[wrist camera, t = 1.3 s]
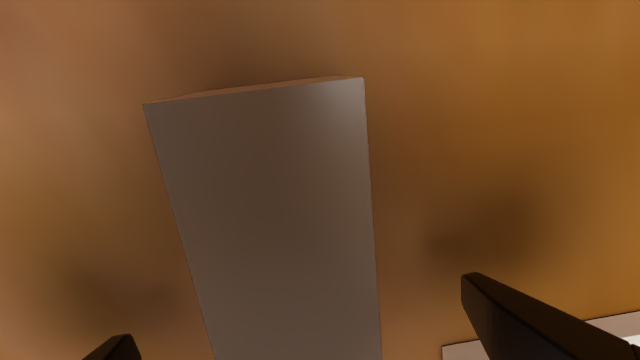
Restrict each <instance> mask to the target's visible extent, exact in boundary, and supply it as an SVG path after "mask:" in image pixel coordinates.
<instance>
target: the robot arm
mask: <svg viewBox="0 0 640 360" xmlns="http://www.w3.org/2000/svg"><path fill="white" fill-rule="evenodd" d="M461 301H462V305H463V308H464V310H465V312H466V314H467V316H468V318H469V320H470V322H471V324H472V326H473V328H474V330H475V332H476V334H477V336H478V338H479V340H480V342H481V344H482V346H483V348H484V350H485V352H486V354H487V356H488V357H489V359H490V360H640V347H639V346H637V345H635V344H630V343H629V342H628V341H626V340H624V339H622V338H619V337H617V336H615V335H613V334H611V333H609V332H606V331H604V330H602V329H600V328H598V327H596V326H593V325H591V324H589V323H587V322H585V321H583V320H580V319H578V318H576V317H574V316H572V315H570V314H567V313H565V312H563V311H561V310H559V309H557V308H554V307H552V306H550V305H548V304H546V303H544V302H541V301H539V300H537V299H535V298H533V297H531V296H528V295H526V294H524V293H522V292H520V291H518V290H515V289H513V288H511V287H509V286H507V285H505V284H502V283H500V282H498V281H496V280H494V279H492V278H490V277H487V276H485V275H483V274H481V273H478V272H472V273H467V274H463V275H462V277H461ZM82 360H142V358H141V354H140V352H139V350H138V348H137V345H136V343H135V341H134V338H133V336H132V335H131V334H121V335H116V336H113V337H111V338H110V339H108V340H107V341H106V342H104V343H103V344H102V345H101V346H99V347H98V348H97V349H95V350H94V351H93V352H91V353H90V354H89V355H87V356H86V357H85V358H83V359H82Z"/></svg>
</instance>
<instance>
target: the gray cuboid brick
mask: <svg viewBox="0 0 640 360" xmlns="http://www.w3.org/2000/svg"><path fill="white" fill-rule="evenodd" d="M142 106H143V109H144V113H145V116H146V120H147V123H148V127H149V130H150V134H151V137H152V141H153V144H154V148H155V151H156V155H157V158H158V162H159V165H160V169H161V172H162V176H163V179H164V183H165V186H166V190H167V193H168V197H169V200H170V204H171V207H172V211H173V214H174V218H175V221H176V225H177V228H178V232H179V235H180V239H181V242H182V246H183V249H184V253H185V256H186V260H187V263H188V267H189V270H190V274H191V277H192V281H193V284H194V288H195V291H196V295H197V298H198V302H199V305H200V309H201V312H202V316H203V319H204V323H205V326H206V330H207V333H208V337H209V340H210V344H211V347H212V351H213V354H214V357H215V360H382V345H381V330H380V315H379V300H378V285H377V270H376V255H375V240H374V225H373V210H372V195H371V179H370V164H369V149H368V134H367V119H366V104H365V89H364V77H358V76H347V75H332V76H324V77H315V78H307V79H299V80H290V81H282V82H274V83H266V84H257V85H249V86H241V87H233V88H224V89H216V90H208V91H200V92H195V93H191V94H186V95H181V96H177V97H172V98H167V99H163V100H158V101H153V102H149V103H144V104H142Z"/></svg>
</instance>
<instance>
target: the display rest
mask: <svg viewBox="0 0 640 360" xmlns="http://www.w3.org/2000/svg"><path fill="white" fill-rule="evenodd" d="M585 322H587V323H589V324H591V325H593V326H596V327H598V328H600V329H602V330H604V331H606V332H609V333H611V334H613V335H615V336H617V337H619V338H622V339H624V340H626V341H628V342H629V343H630V344H635V345H637V346H639V347H640V311H638V312H633V313H627V314H621V315H616V316H610V317H605V318H599V319H594V320H588V321H585ZM442 356H443V360H490V359H489V357H488V356H487V354H486V352H485V350H484V348H483V346H482V344H481V342H480V340H477V341H471V342H466V343H460V344H455V345H449V346H444V347H442Z"/></svg>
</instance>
